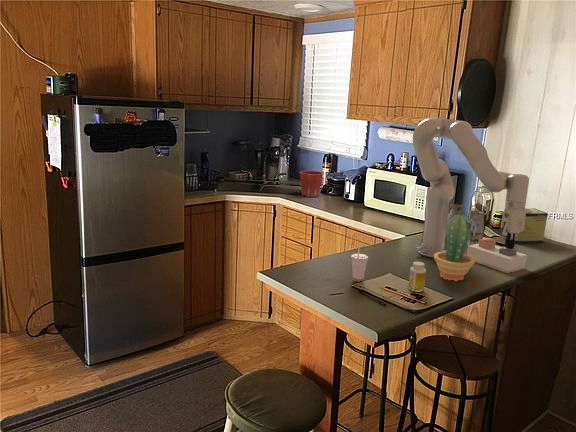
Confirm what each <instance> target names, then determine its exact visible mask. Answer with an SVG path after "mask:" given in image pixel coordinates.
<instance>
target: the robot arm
mask: <svg viewBox="0 0 576 432" xmlns="http://www.w3.org/2000/svg"><path fill="white" fill-rule="evenodd" d="M435 138H439V139H440V138H441V139H448V140H451V141H452V143H453V144H454V145H455V147H456V148H457V149H458V150H459V151H460V153H461V154H462V155H463V157H464V158H465V159H466V161H467V163H468V165H469V166H470V168H471V169H472V170H473V172H474V174H475V175H476V177H477V178H478V179H479V181H480V182H481V184H482V185H483V186H484V187H485V188H486V189H487V190H488V191H489V192H491V193H500V192H502V191H503V190H506V194H505V195H506V196H505V202H504V210H503V213H502V218H501V223H500V231H501V235H502V236H505V238H506V239H505V238H504V239H505V243H504V246H505V248H509V249H515V245H516V243H515V239H516V237H517V234H519V233H520V232H522V231H524V228H525V218H526V210H525V208H526V205H527V197H528V196H527V195H528V188H529V182H530V177H529V176H528V175H527V174H521V173H508V172H504V171H499V170H498V169H496V167H495V166H494V164H493V163H492V161H491V160H490V158H489V155H488V151H487V149H486V146H485V145H484V144H483V143H482V142H481V141H480V139H479V137H477V135H476V134H475V133H474V131H473V126H472V125H471V124H470V123H469V122H467V121H465V120H457V119H450V118H449V119H448V118H440V117H429V118H426V119H424V120H422V121H421V122H420V123H418V125H417V126H416V127H415V129H414V130H413V133H412V145H413V146H412V147H413V149H414V153H415V156H416V159H417V162H418V167H419V169H420V173H421V177H422V179H424V180H425V181H427V182H428V183H430V185H431V186H430V187H429V188H428V191H427V193H426V196H425V216H424V226H423V235H422V243H420V246H416V247H415V248H414V251H415V252H418V253H419V254H420V255H421V256H424V257H429V258H434V254H435V253H437V252H444V251H446V250H445V245H446V239H447V237H446V228H447V220H448V214H449V206H450V205H449V204H450V201H451V200H452V199H453V198H454V197H455V193H456V189H455V186H454V182H453V180H452V175H451V172H450V170H449V167H448V165H447V163H446V161H444V160H443V159H441V158H439V156H438V153H437V148H436V147H435V144H434V141H433V140H434V139H435Z"/></svg>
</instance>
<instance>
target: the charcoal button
mask: <svg viewBox="0 0 576 432" xmlns="http://www.w3.org/2000/svg"><path fill="white" fill-rule="evenodd" d="M517 252H518V251H517V249H515V248H514V249H509V248H505V245H504V246H503V248H499V253H500V254H504V255H507V256H513V255H516V253H517Z"/></svg>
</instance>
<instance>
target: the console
mask: <svg viewBox="0 0 576 432" xmlns="http://www.w3.org/2000/svg"><path fill="white" fill-rule="evenodd" d="M503 247H504V246H503ZM503 247H502V246H500V245H497V244H496V245H495V248H493V249H489V250H488V249H485V248H482V247H479V244H474V245H469V246H468V245H467V251H466V255H469V256H471V257H473V258H474V260H475V263H477V264H481V265H483V266H485V267H489V268H491V269H494V270H497V271H500V272H503V273H506V274H510V272H511V273H514V272H517V271H522V270H524V269H526V265H527V259H528V255H527V254H525V253H522V252H518V251H517V253H516V255H513V256H507V255H504V254H500V253H499V248H503ZM521 269H522V270H521Z"/></svg>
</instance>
